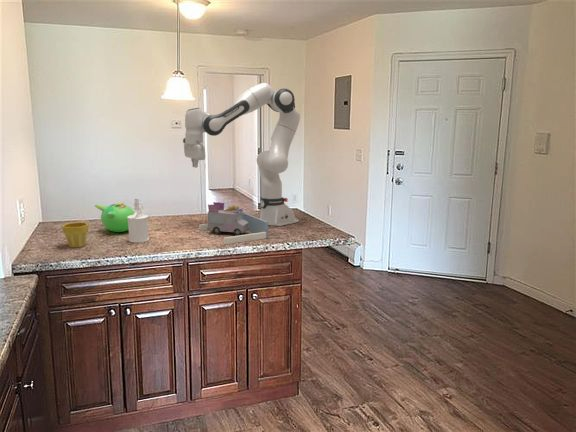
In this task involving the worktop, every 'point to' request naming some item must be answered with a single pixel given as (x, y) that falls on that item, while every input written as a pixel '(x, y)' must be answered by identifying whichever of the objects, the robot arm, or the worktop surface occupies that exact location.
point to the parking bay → (255, 226)
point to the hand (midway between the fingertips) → (195, 167)
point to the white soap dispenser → (138, 225)
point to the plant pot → (75, 233)
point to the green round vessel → (115, 216)
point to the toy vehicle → (226, 219)
